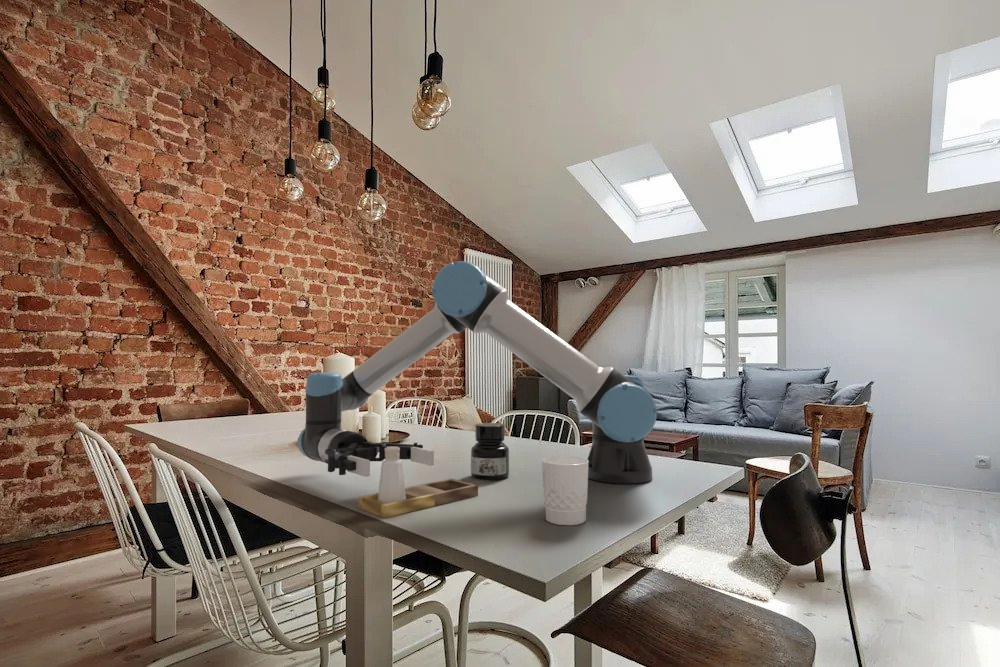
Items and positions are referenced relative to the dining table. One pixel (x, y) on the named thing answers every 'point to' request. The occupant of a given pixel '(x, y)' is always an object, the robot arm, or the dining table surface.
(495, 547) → the dining table surface
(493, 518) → the dining table surface
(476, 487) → the rail
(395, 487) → the pepper shaker
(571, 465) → the white cup
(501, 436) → the ink bottle
